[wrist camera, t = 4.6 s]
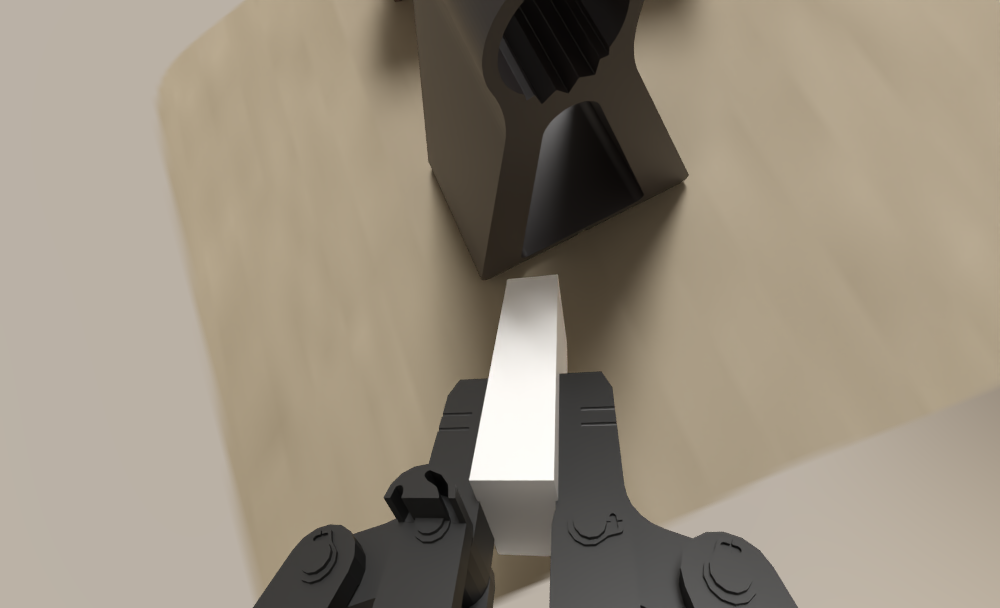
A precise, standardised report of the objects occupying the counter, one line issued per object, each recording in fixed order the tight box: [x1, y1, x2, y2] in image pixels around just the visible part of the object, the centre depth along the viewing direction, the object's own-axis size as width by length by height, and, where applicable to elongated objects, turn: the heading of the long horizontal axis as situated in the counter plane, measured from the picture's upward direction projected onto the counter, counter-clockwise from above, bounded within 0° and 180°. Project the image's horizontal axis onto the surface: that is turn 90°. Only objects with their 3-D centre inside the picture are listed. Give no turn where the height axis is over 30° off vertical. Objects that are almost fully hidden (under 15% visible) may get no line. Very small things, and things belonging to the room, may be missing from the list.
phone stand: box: [413, 0, 689, 280], centre depth 12 cm, size 9×6×12 cm, turn 114°
